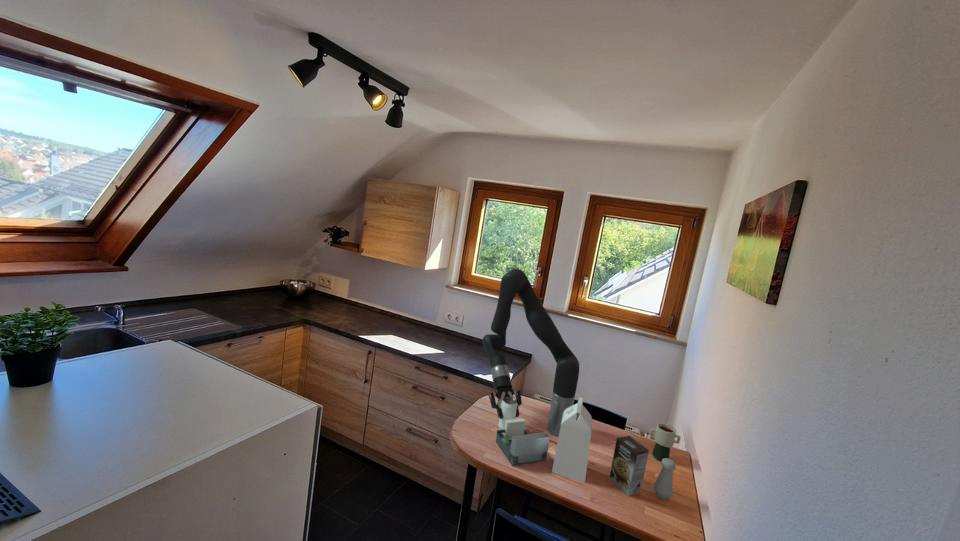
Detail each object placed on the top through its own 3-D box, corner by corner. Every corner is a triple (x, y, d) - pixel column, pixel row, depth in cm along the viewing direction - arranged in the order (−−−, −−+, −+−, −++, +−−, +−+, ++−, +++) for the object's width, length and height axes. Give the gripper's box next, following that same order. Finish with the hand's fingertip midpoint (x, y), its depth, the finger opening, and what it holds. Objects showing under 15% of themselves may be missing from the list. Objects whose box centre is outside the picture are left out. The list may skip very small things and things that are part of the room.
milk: (584, 482, 135) (597, 412, 131) (551, 472, 138) (562, 404, 134) (586, 462, 146) (597, 398, 142) (555, 453, 150) (565, 390, 146)
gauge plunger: (520, 435, 157) (523, 418, 156) (523, 438, 155) (525, 421, 154) (494, 438, 152) (497, 421, 151) (496, 441, 151) (499, 423, 149)
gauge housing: (527, 437, 158) (530, 415, 156) (546, 461, 144) (549, 436, 143) (495, 441, 153) (498, 418, 151) (512, 466, 139) (515, 441, 138)
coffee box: (608, 479, 138) (615, 437, 136) (621, 475, 141) (628, 434, 139) (628, 496, 130) (636, 453, 128) (641, 492, 133) (650, 449, 131)
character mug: (674, 457, 156) (680, 427, 154) (676, 467, 150) (682, 436, 148) (645, 448, 160) (651, 419, 158) (645, 458, 154) (651, 427, 152)
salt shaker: (649, 488, 136) (656, 454, 134) (665, 489, 136) (672, 455, 134) (658, 501, 130) (665, 465, 128) (674, 502, 130) (682, 466, 128)
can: (512, 433, 157) (516, 405, 155) (497, 429, 158) (500, 402, 156) (514, 425, 163) (518, 398, 161) (499, 421, 164) (503, 395, 162)
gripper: (489, 375, 162) (496, 416, 153) (519, 373, 167) (529, 413, 158) (482, 381, 167) (490, 421, 158) (512, 379, 173) (521, 418, 164)
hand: (509, 417), depth 158 cm, fingers closed on can, 6 cm apart
